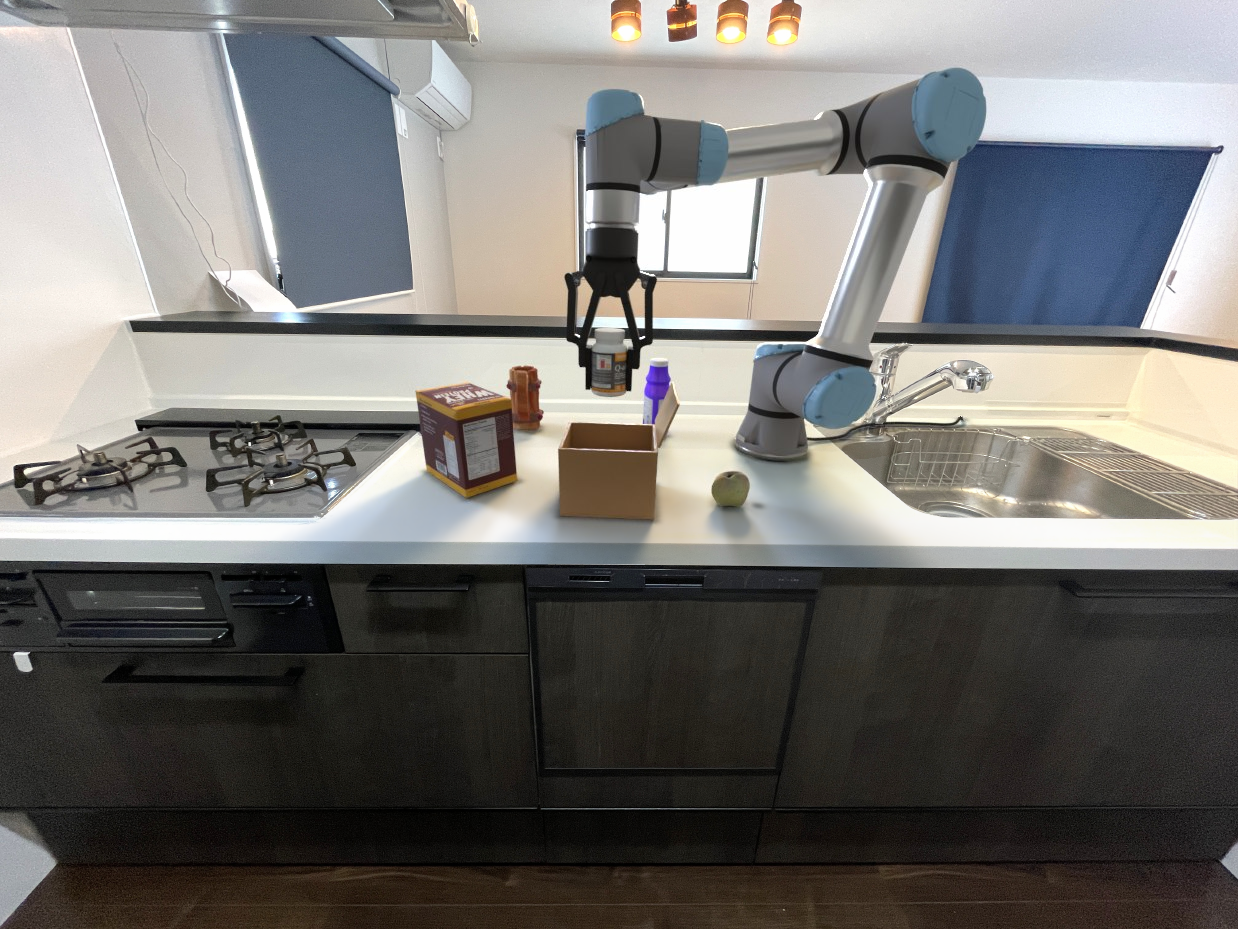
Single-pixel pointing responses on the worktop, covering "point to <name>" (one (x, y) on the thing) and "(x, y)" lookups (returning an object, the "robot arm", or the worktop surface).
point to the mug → (525, 397)
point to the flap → (666, 414)
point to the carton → (608, 470)
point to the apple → (730, 488)
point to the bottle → (655, 389)
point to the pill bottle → (609, 363)
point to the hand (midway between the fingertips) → (608, 388)
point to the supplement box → (467, 437)
